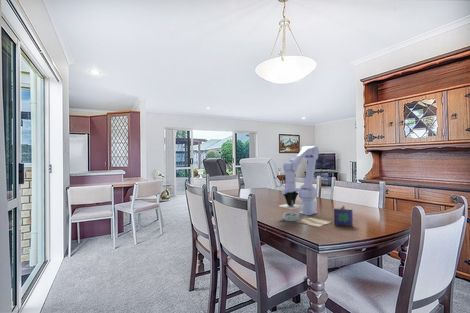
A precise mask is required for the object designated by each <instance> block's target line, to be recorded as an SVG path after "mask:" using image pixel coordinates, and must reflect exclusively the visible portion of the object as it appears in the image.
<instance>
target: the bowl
mask: <svg viewBox="0 0 470 313" xmlns="http://www.w3.org/2000/svg"><path fill="white" fill-rule="evenodd" d="M282 214H283V215H282V218H283V220H284V221H285V222H286V221H287V222H296V221H299V220H300V213H296V212H284V213H282Z"/></svg>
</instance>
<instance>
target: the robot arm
mask: <svg viewBox="0 0 470 313" xmlns="http://www.w3.org/2000/svg"><path fill="white" fill-rule="evenodd" d="M319 155H320V150H319V147H318V146H317V145H307V146H306V145H304V146H302V147H301V148H300V151H299V153H298V154H297V155H296V154H295V155H293V156H292V158H291V159H290V160H288V161H286V162H285V163H283V166H282V170H283V171H284V175H285V188H284V189H281V190H280V192H281V194H282V195H283V197H284V199H285V201H286V204H287V205H291V199H293V205H294V204H295V203H296V200H297V198H298V197H299V198H300V200H301V206H303V207H301V211H299V212H298V214H302V215H305V216H311V215H312V216H313V215H315V214H318V211H317V202H316V200H315V199H316V198H317V188H316V187H315V186H313V183H314V179H315V178H314V177H315V172H316V163H317V160H318V159H319ZM303 159H305V160H306V161H307V165H306V170H305V171H306V172H305V178H304V183H303V184H302V185H301V186H300V187H296V184H297V183H296V171H298V167H299V165H300V164H301V163H302V161H303Z"/></svg>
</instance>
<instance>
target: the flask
mask: <svg viewBox="0 0 470 313" xmlns="http://www.w3.org/2000/svg"><path fill="white" fill-rule="evenodd" d="M353 212H354V211H353V209H352V208H346V207H345V205H342V206H341V207H337V208H336V207H335V208H334V210H333V215H334V216H333V224H334V226H336V227H353V226H354V221H353V220H354V219H353V216H354V215H353Z"/></svg>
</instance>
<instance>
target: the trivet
mask: <svg viewBox="0 0 470 313" xmlns="http://www.w3.org/2000/svg"><path fill="white" fill-rule="evenodd" d="M295 222H296V223H299V224H303V225H307V226H311V227H314V228H321V227H324V226H327V225H329V224H332V223H333V221H331V220H330V221H329V220H325V219H320V218H316V217H311V216H310V217H306V218H304V219H303V218H302V219H299V220H298V221H295Z"/></svg>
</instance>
